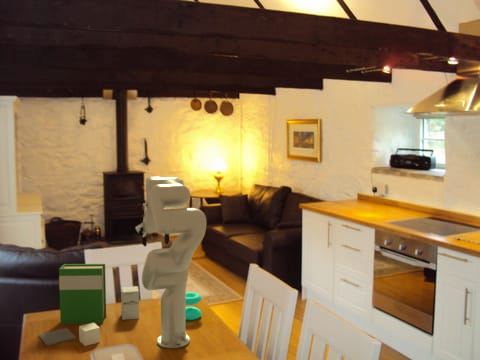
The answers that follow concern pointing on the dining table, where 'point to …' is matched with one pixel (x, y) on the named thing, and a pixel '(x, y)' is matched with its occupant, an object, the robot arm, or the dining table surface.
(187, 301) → the donuts
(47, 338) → the charcoal mat
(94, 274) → the hardback book
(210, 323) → the dining table surface
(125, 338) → the dining table surface
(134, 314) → the supplement box
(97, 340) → the painted cube
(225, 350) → the dining table surface
